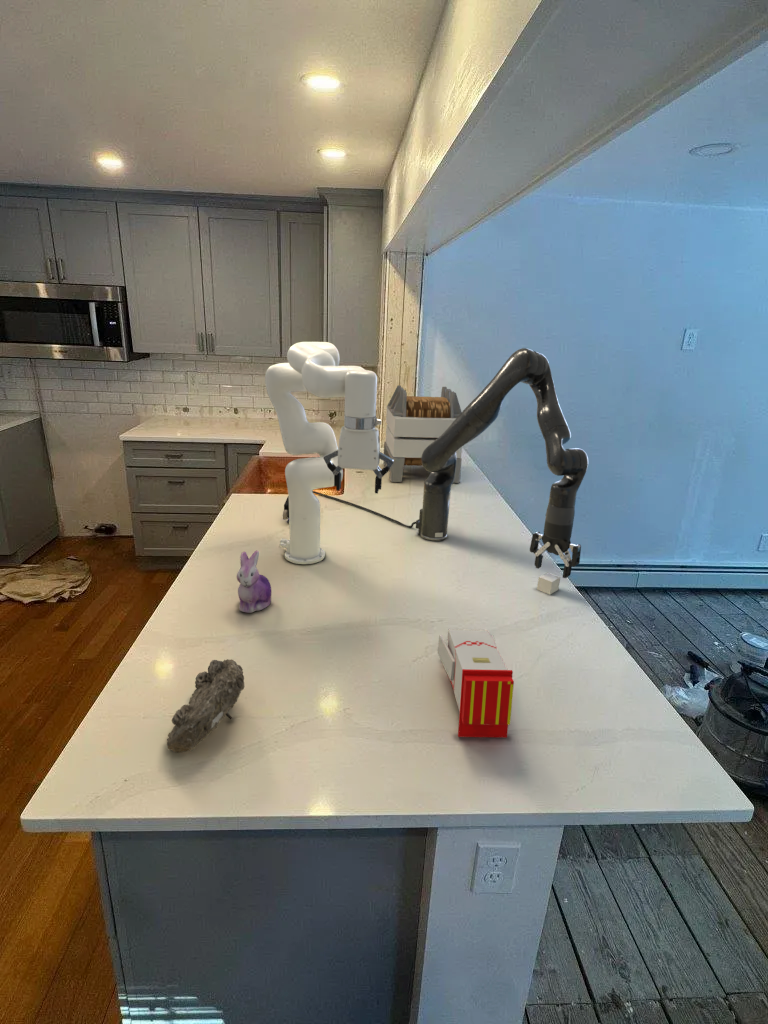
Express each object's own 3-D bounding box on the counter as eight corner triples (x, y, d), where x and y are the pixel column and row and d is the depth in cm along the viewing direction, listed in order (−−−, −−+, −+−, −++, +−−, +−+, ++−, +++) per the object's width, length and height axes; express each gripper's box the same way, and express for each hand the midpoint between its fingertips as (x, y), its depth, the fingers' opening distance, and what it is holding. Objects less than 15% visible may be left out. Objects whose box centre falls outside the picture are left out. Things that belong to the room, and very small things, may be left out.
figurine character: (300, 529, 203) (305, 510, 217) (300, 510, 200) (305, 492, 213) (282, 528, 203) (287, 510, 216) (281, 509, 200) (287, 492, 213)
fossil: (192, 660, 117) (244, 628, 112) (224, 691, 120) (276, 661, 115) (142, 746, 98) (202, 712, 93) (182, 779, 101) (242, 748, 96)
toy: (488, 613, 130) (523, 677, 101) (484, 667, 133) (517, 744, 104) (435, 612, 130) (455, 676, 101) (432, 666, 133) (451, 743, 103)
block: (558, 589, 165) (560, 577, 163) (549, 594, 161) (551, 582, 160) (545, 584, 167) (547, 572, 166) (536, 589, 164) (538, 576, 163)
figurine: (241, 617, 142) (239, 563, 137) (232, 599, 151) (229, 547, 146) (278, 610, 146) (277, 557, 141) (266, 592, 155) (265, 542, 150)
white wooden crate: (382, 463, 289) (386, 382, 275) (445, 464, 293) (451, 384, 279) (390, 482, 257) (394, 392, 243) (460, 483, 261) (468, 394, 247)
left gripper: (396, 422, 139) (393, 488, 145) (326, 417, 140) (326, 483, 146) (394, 428, 132) (391, 497, 138) (321, 423, 133) (320, 492, 139)
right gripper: (589, 523, 155) (580, 576, 161) (543, 510, 164) (536, 561, 170) (577, 529, 150) (568, 584, 155) (529, 515, 159) (522, 568, 165)
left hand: (357, 490), depth 142 cm, fingers open, 9 cm apart
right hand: (551, 572), depth 163 cm, fingers open, 8 cm apart
